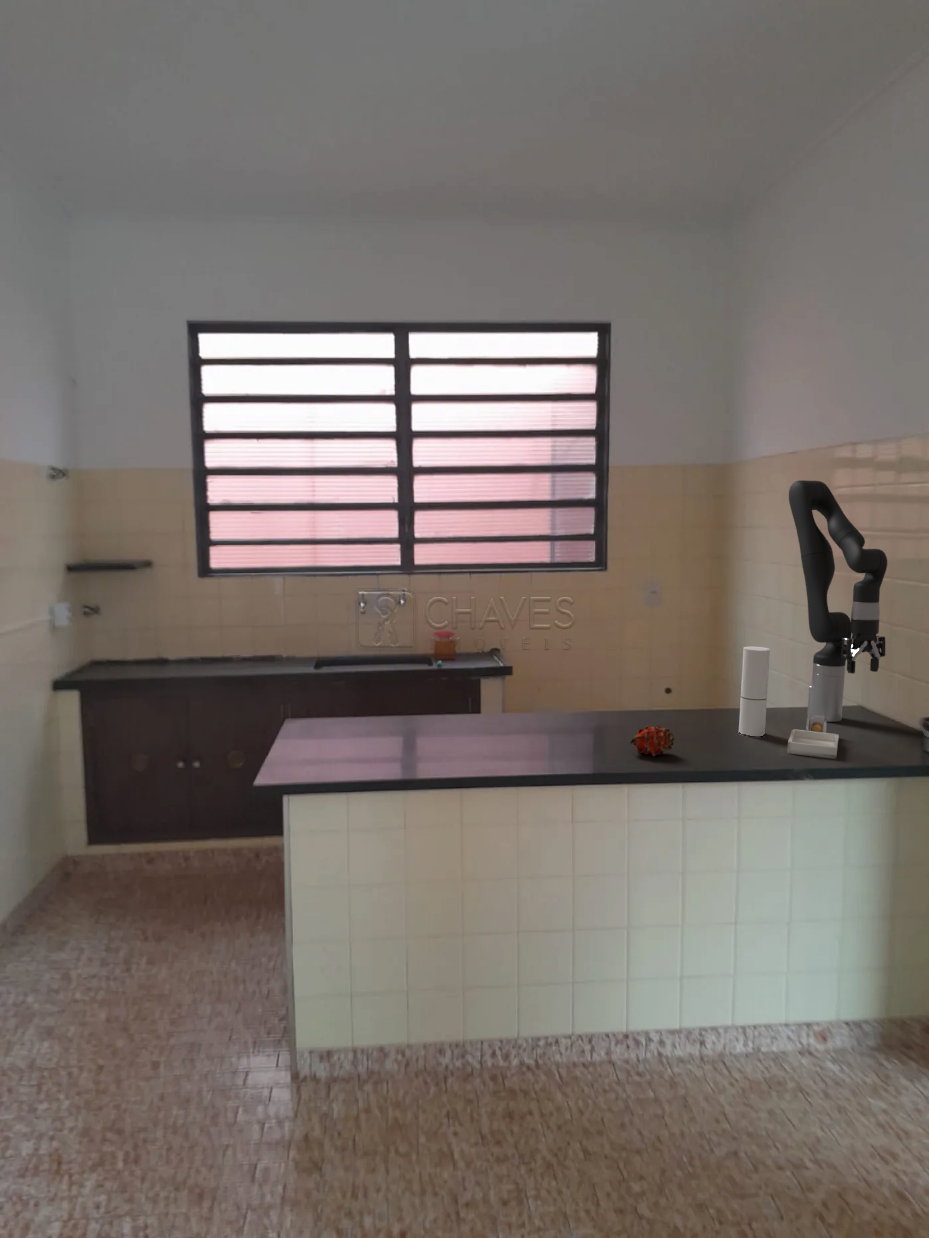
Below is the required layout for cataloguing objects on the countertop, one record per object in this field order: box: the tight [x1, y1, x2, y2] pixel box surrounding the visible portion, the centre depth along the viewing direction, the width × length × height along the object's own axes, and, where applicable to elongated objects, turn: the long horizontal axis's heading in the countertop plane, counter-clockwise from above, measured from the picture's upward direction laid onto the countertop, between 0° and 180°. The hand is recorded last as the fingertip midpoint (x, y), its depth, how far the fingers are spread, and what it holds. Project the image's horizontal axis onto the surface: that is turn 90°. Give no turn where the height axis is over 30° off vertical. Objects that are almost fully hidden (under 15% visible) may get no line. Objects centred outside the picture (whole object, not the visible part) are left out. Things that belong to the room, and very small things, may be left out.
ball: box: [811, 724, 822, 732], centre depth 248 cm, size 3×3×3 cm
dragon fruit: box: [629, 724, 675, 757], centre depth 227 cm, size 8×8×12 cm
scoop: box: [805, 714, 828, 733], centre depth 246 cm, size 8×5×6 cm, turn 155°
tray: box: [786, 728, 840, 760], centre depth 234 cm, size 15×12×3 cm
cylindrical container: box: [738, 645, 771, 737], centre depth 248 cm, size 7×7×25 cm
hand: (862, 672), depth 254 cm, fingers open, 8 cm apart
